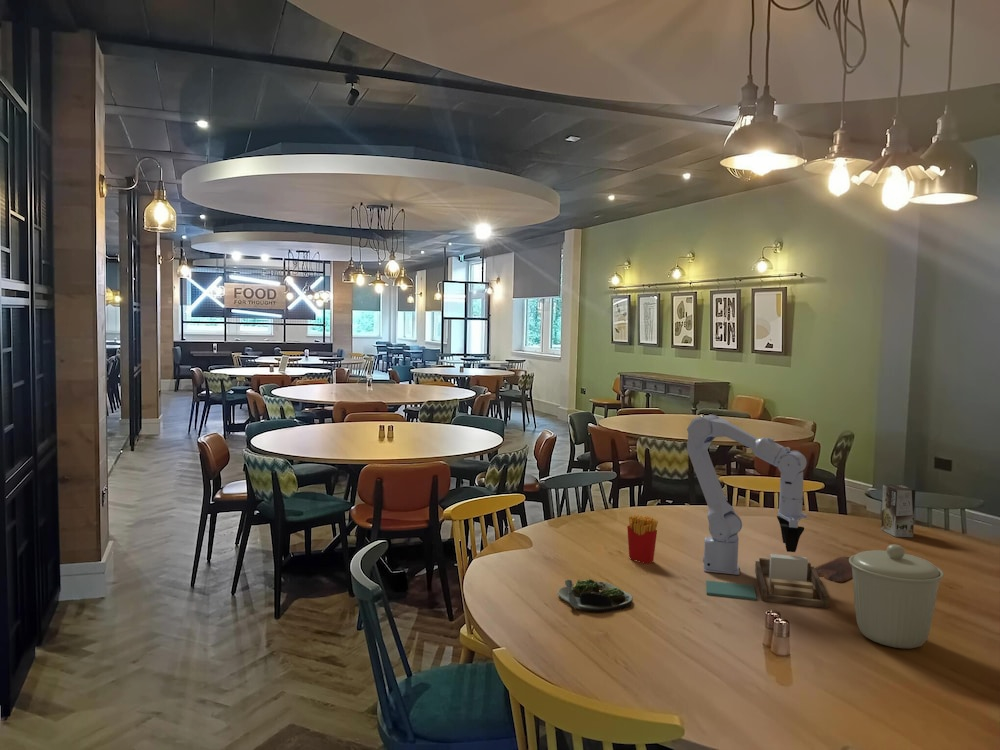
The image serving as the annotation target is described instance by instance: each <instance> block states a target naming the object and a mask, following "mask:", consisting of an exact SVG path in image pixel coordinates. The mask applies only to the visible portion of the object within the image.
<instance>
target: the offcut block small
mask: <svg viewBox="0 0 1000 750" xmlns="http://www.w3.org/2000/svg"><path fill="white" fill-rule="evenodd" d="M773 595H780V596H789V597H799V598H808V599H814V589H813V590H812V589H805V588H797V587H788V586H780V585H774V594H773Z"/></svg>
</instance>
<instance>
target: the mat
mask: <svg viewBox="0 0 1000 750" xmlns="http://www.w3.org/2000/svg"><path fill="white" fill-rule="evenodd" d="M705 583H706V584H705V586H706V587H705V589H706V595H707V596H716V597H723V598H724V597H725V598H732V599H733V598H735V599H741V600H750V601H751V600H752V601H757V595H756V594H757V593H756V590H755V587H754V586H755V585H752V584H742V583H735V582H734V583H733V582H725V581H724V582H723V581H717V580H716V581H715V580H706V581H705Z"/></svg>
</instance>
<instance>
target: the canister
mask: <svg viewBox="0 0 1000 750" xmlns="http://www.w3.org/2000/svg"><path fill="white" fill-rule="evenodd" d="M849 557H850V558H849V563H850V564H851V565H852V574H853V577H852V586H853V599H854V600H853V601H854V609H855V617H856V618H855V619H856V623H857V627H858V629H859V631H860V633H861V634H862V635H863V636H865V638H867V639H869V640H871V641H872V642H874V643H877V644H880V645H883V646H885V647H891V648H894V649H895V648H897V649H906V650H907V649H915V648H919V647H921V646H923V645H924V644H925V643H926V641H927V639H928V637H929V635H930V631H931V625H932V622H933V621H932V620H933V616H934V613H935V612H934V611H935V606H936V600H937V595H938V591H939V590H938V589H939V585H940V584H939V583H940V580H942V579H943V577H944V574H945V573H944V571H943V570H942V569H940V568H939V567H938V566H936V565H934V563H932V562H930V561H929V560H927V559H924V558H923V557H922V558H921V557H919V556H916V555H912V554H908V553H906V551H905V548H904V547H902V545H899V544H895V543H892V544H889V545H888V546H887V547H886V550H879V549H873V550H866V551H865V550H864V551H860V552H857V553H855V554H853V555H851V556H849Z"/></svg>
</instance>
